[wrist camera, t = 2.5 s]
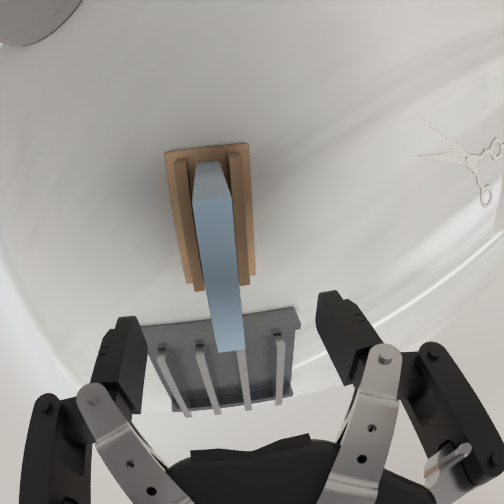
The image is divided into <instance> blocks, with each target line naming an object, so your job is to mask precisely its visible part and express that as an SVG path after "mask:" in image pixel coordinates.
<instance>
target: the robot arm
mask: <svg viewBox="0 0 504 504" xmlns="http://www.w3.org/2000/svg"><path fill="white" fill-rule="evenodd" d="M80 2H81V0H0V42H1V43H6V44H11V45H16V46H25V45H30V44H32V43H35V42H37V41H39V40H41V39H43V38H44V37H46V36H48V35H49V34H50V33H52V32H53V31H54V30H56V29H57V28H58V27H59V26H60V25H61V24H62V23H63V22H64V21H65V20H66V19H67V18H68V17H69V16H70V15H71V14H72V12H73V11H74V10H75V9H76V7H77V6H78V4H79V3H80ZM315 321H316V328H317V331H318V333H319V335H320V337H321V339H322V341H323V343H324V345H325V347H326V350H327V352H328V354H329V356H330V358H331V360H332V362H333V364H334V366H335V368H336V370H337V372H338V374H339V376H340V378H341V380H342V383H343V385H344V386H346V385H349V384H353V385H354V387H355V390H354V393H353V396H352V399H351V402H350V405H349V408H348V411H347V413H346V416H345V419H344V422H343V424H342V427H341V429H340V431H339V434H338V436H337V438H336V441H335V443H333V442H330V441H325V440H317V439H310V436H309V433H307V434H303V435H299V436H295V437H291V438H285V439H281V440H278V441H276V442H274V443H271V444H269V445H267V446H264V447H262V448H259V449H257V450H254V451H236V450H228V449H208V450H191V451H190V453H191V457H189V458H186V459H184V460H181V461H179V462H177V463H175V464H174V465H173V466H171V467H170V468H169V467H168V466H167V465H166V463H165V462H164V461H163V460H162V459H161V458H160V457H159V456H158V455H157V454H156V453H155V451H154V450H153V449H152V448H151V446H150V445H149V444H148V443H147V442H146V440H145V439H144V438H143V436H142V435H141V434H140V432H139V431H138V430H137V428H136V427H135V426H134V424H133V423H132V422H131V420H132V414H141V405H142V395H143V386H144V377H145V369H146V362H147V355H148V348H147V342H146V339H145V337H144V335H143V332H142V330H141V327H140V325H139V322H138V320H137V318H136V316H127V317H119V318H118V320H117V323H116V326H115V329H110V330H109V331H108V332H107V333H106V335H105V336H104V337H103V340H102V343H101V346H100V347H101V348H100V349H99V353H98V356H97V359H96V363H95V366H94V370H93V373H92V377H91V381H90V383H89V384H87V385H85V386H83V387H82V388H81V389H80V390H79V392H78V394H77V396H76V397H73V398H68V399H64V400H59V399H58V398H57V396H55V395H54V394H51V393H46V394H43V395H41V396H40V397H39V398H38V399H37V400H36V402H35V404H34V408H33V412H32V416H31V420H30V424H29V429H28V434H27V439H26V444H25V450H24V456H23V463H22V471H21V480H20V494H19V504H91V496H90V495H91V491H90V490H91V487H90V485H91V484H90V483H91V457H92V443H96V444H95V447H96V449H97V451H98V453H99V455H100V456H101V458H102V460H103V461H104V463H105V464H106V466H107V467H108V469H109V471H110V472H111V474H112V475H113V476H114V478H115V479H116V481H117V482H118V484H119V485H120V487H121V488H122V489H123V491H124V492H125V493H126V495H127V496H128V497H129V499H130V500H131V501H132V503H133V504H451V503H453V502H454V501H456V500H457V499H459V498H460V497H462V496H463V495H465V494H466V493H468V492H470V491H472V490H474V489H475V488H477V487H479V486H481V485H483V484H485V483H486V482H488V481H490V480H492V479H493V478H495V477H497V476H498V475H500V474H501V473H502V472H503V471H504V443H503V441H502V439H501V437H500V435H499V433H498V431H497V430H496V428H495V426H494V424H493V422H492V421H491V419H490V417H489V415H488V414H487V412H486V410H485V408H484V407H483V405H482V403H481V402H480V400H479V399H478V397H477V395H476V394H475V392H474V390H473V389H472V387H471V386H470V384H469V383H468V381H467V380H466V378H465V377H464V375H463V374H462V372H461V371H460V369H459V368H458V366H457V365H456V363H455V362H454V360H453V359H452V357H451V356H450V355H449V353H448V352H447V350H446V349H445V348H444V347H443V346H442V345H440V344H439V343H436V342H426V343H424V344H423V345H422V346H421V347H420V349H419V351H418V352H400V351H399V350H398V349H397V348H396V347H394V346H392V345H390V344H384V343H383V341H382V340H381V339H380V337H379V336H378V334H377V333H376V331H375V330H374V328H373V327H372V326H371V324H370V323H369V321H367V318H366V317H365V316H364V314H363V313H362V311H361V310H360V309H359V307H358V306H357V305H356V304H355V303H353V302H352V301H350V300H349V299H345V300H343V299H342V297H341V296H340V294H339V293H338V292H337V291H336V290H332V291H327V292H321V293H319V295H318V302H317V310H316V319H315ZM398 400H401V402H402V404H403V406H404V408H405V410H406V412H407V414H408V416H409V418H410V420H411V422H412V424H413V426H414V429H415V431H416V433H417V435H418V437H419V439H420V442H421V444H422V446H423V448H424V450H425V453H426V455H427V457H428V461H427V462H426V464H425V469H424V477H425V479H426V482H425V485H424V486H423V485H420V484H418V483H415V482H413V481H411V480H408V479H406V478H404V477H402V476H399V475H397V474H395V473H393V472H391V471H389V470H386V469H384V466H385V463H386V459H387V456H388V452H389V448H390V445H391V440H392V437H393V432H394V428H395V424H396V419H397V414H398V409H399V401H398Z"/></svg>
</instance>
